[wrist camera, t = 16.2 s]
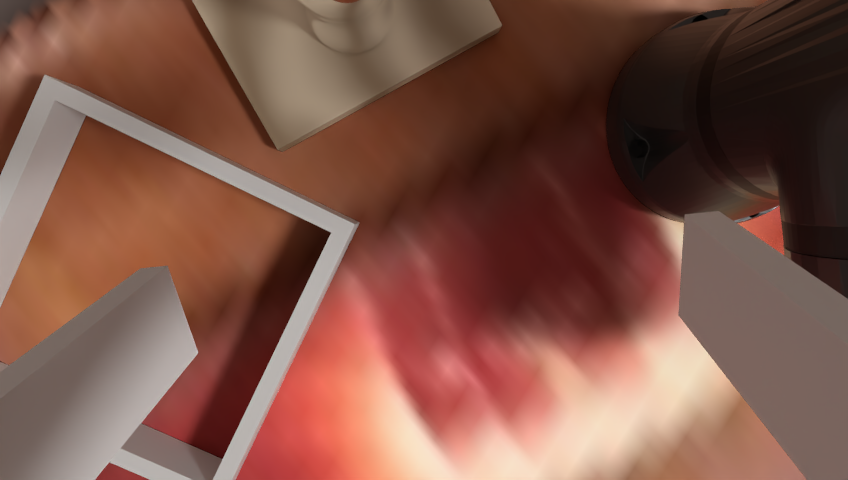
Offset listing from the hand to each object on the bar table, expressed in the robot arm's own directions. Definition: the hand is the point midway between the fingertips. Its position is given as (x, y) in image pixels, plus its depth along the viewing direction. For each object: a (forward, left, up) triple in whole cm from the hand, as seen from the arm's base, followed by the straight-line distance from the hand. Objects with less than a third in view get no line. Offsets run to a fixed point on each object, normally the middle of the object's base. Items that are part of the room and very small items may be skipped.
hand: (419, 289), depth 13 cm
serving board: (+11, -12, -25) cm, 30 cm away
